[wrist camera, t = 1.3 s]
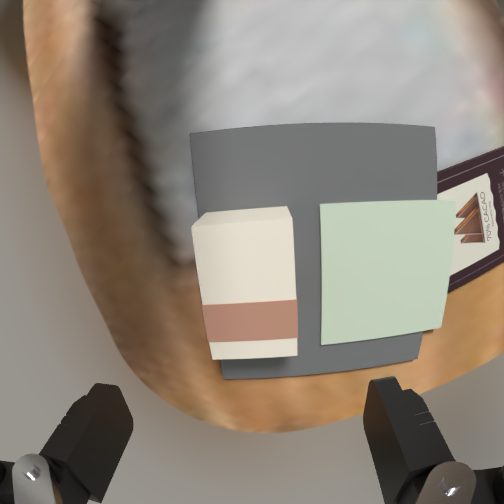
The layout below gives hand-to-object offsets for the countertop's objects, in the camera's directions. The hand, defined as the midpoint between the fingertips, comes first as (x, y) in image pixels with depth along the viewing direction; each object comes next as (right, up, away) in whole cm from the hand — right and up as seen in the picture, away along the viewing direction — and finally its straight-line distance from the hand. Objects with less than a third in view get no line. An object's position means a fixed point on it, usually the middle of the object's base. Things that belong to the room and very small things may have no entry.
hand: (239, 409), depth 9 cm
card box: (0, +4, +11) cm, 12 cm away
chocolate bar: (+19, +8, +11) cm, 23 cm away
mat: (+5, +4, +12) cm, 14 cm away
